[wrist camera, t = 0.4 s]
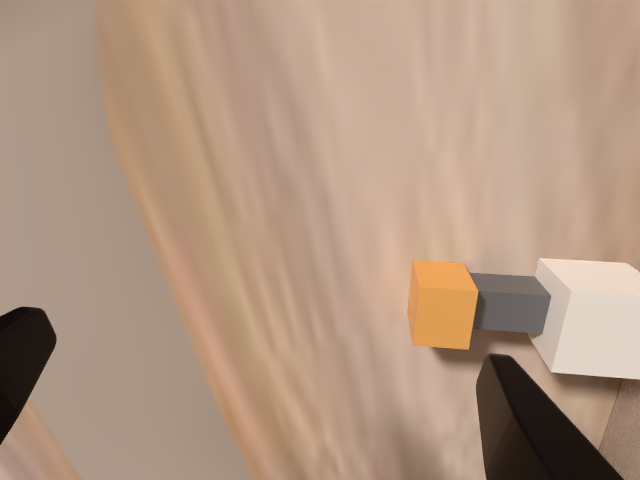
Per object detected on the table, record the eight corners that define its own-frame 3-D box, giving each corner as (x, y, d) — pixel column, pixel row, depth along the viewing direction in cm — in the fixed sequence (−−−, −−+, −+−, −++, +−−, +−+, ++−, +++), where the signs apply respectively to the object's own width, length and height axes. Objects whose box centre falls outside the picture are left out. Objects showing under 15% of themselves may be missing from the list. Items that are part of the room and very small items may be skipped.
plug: (406, 320, 22) (413, 361, 19) (413, 251, 21) (422, 281, 17) (604, 334, 21) (648, 379, 18) (626, 263, 20) (677, 297, 16)
